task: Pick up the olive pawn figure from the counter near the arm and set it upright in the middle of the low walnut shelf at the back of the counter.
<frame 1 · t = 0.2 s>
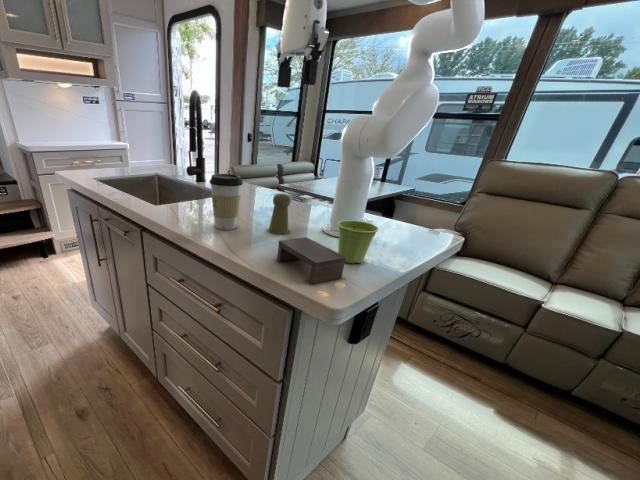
hand: (295, 85, 71), 37 cm above the countertop, tool pointing down, fingers open, 9 cm apart
olive pawn figure: (278, 231, 98), on the countertop
plant pot: (349, 260, 80), on the countertop
coffee cup: (225, 227, 99), on the countertop
shelf: (307, 269, 73), on the countertop
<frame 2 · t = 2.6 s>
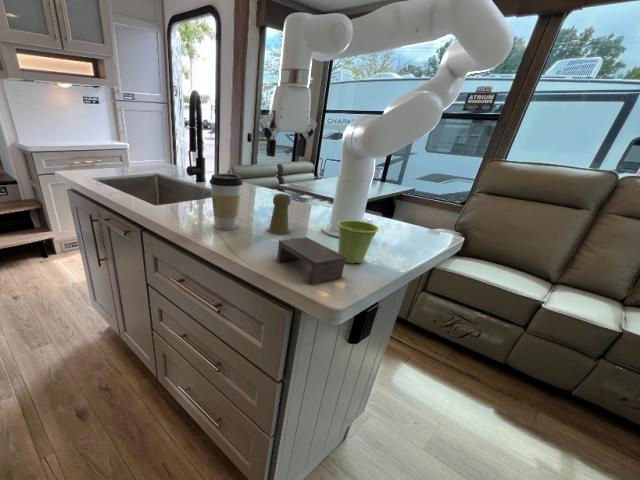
hand: (285, 156, 86), 21 cm above the countertop, tool pointing down, fingers open, 9 cm apart
nothing on the countertop moved.
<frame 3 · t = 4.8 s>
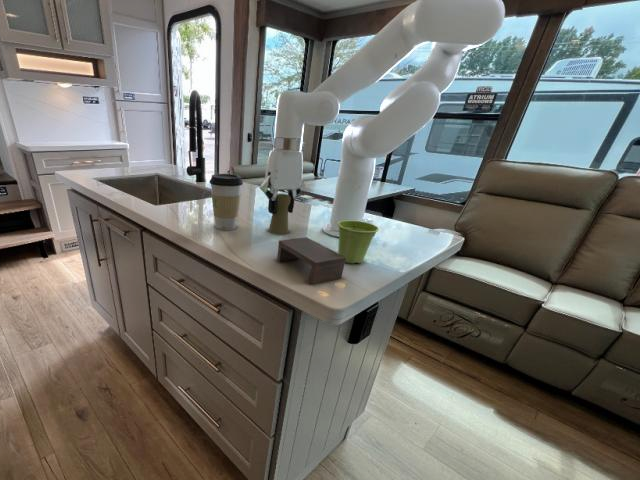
hand: (280, 211, 95), 6 cm above the countertop, tool pointing down, fingers closed on olive pawn figure, 5 cm apart
olive pawn figure: (278, 231, 98), on the countertop, touching gripper
everything else where it was.
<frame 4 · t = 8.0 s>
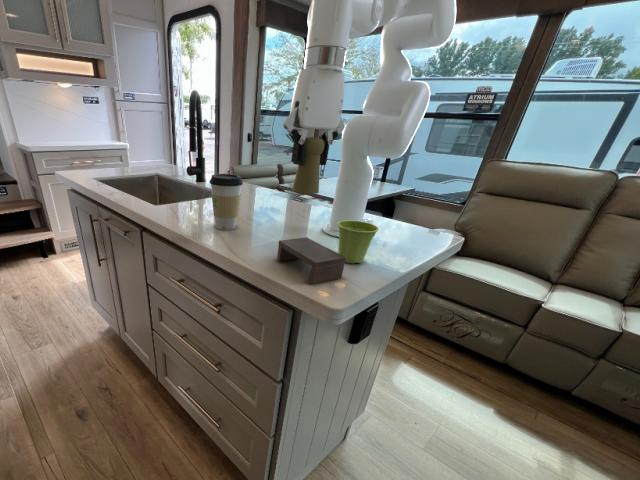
hand: (309, 163, 69), 22 cm above the countertop, tool pointing down, fingers closed on olive pawn figure, 5 cm apart
olive pawn figure: (305, 192, 72), point 16 cm above the countertop, touching gripper
everything else where it was.
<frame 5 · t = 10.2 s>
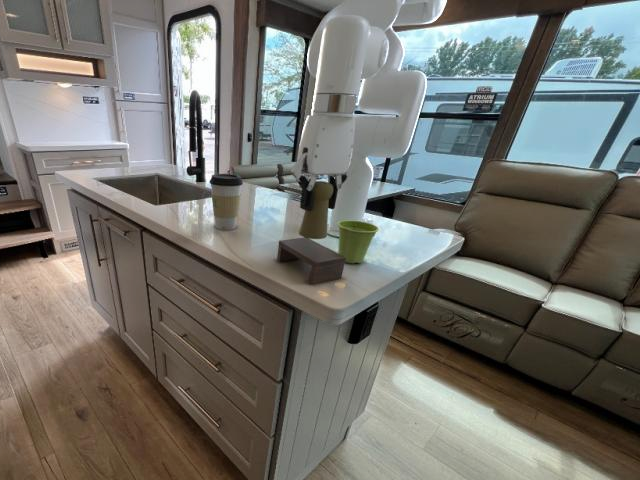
hand: (317, 207, 66), 14 cm above the countertop, tool pointing down, fingers closed on olive pawn figure, 5 cm apart
olive pawn figure: (312, 235, 69), point 8 cm above the countertop, touching gripper
everything else where it was.
when the fingers open (11 cm above the countertop, at t = 11.5 s): olive pawn figure stays where it is, resting on shelf.
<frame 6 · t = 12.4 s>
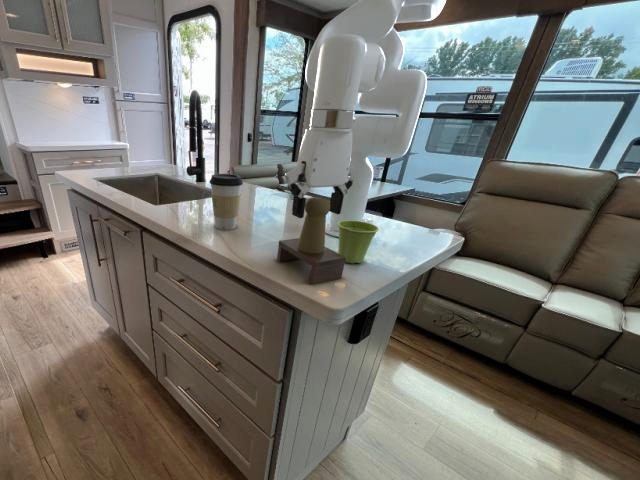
hand: (316, 214, 67), 13 cm above the countertop, tool pointing down, fingers open, 9 cm apart
olive pawn figure: (310, 249, 71), point 5 cm above the countertop, touching shelf
everything else where it was.
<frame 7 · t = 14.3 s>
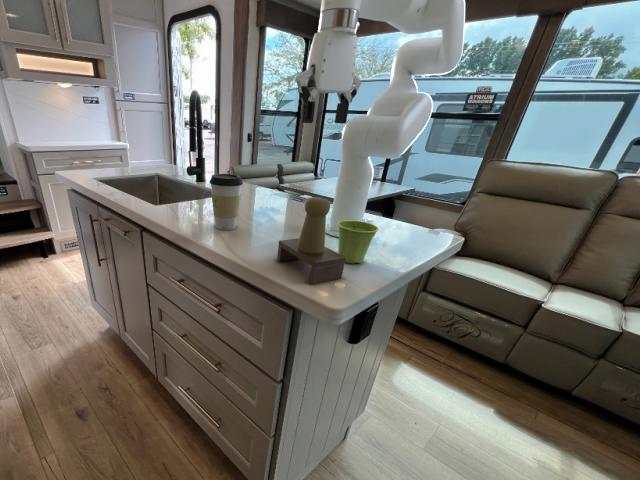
hand: (324, 123, 72), 30 cm above the countertop, tool pointing down, fingers open, 9 cm apart
nothing on the countertop moved.
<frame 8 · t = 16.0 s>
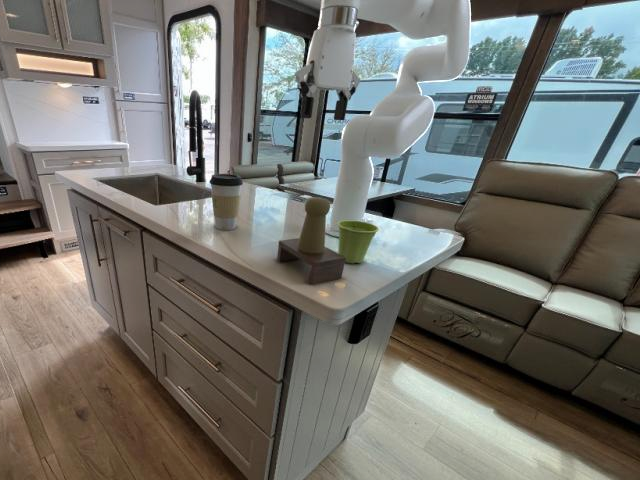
hand: (322, 119, 74), 30 cm above the countertop, tool pointing down, fingers open, 9 cm apart
nothing on the countertop moved.
at the end: olive pawn figure inside the target area on the shelf (0.1 cm from its centre), point 4.8 cm above the shelf's base; olive pawn figure tilted 0° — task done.
